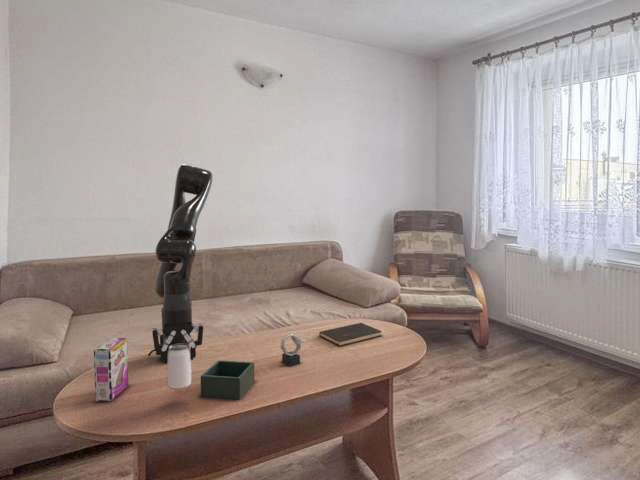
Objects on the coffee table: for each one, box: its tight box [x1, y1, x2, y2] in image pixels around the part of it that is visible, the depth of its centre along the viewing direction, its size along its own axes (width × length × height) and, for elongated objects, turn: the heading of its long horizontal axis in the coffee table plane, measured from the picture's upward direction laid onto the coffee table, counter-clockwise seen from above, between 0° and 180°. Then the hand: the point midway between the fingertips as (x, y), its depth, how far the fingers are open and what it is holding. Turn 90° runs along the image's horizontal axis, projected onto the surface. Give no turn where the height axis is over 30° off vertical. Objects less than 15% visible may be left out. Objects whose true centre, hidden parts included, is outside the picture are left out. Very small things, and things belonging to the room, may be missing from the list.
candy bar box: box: [93, 337, 129, 402], centre depth 136 cm, size 11×5×16 cm, turn 5°
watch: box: [280, 333, 303, 367], centre depth 164 cm, size 6×8×11 cm
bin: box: [200, 359, 255, 400], centre depth 142 cm, size 13×13×7 cm
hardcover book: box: [318, 322, 383, 347], centre depth 196 cm, size 16×23×2 cm
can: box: [166, 343, 192, 390], centre depth 131 cm, size 6×6×12 cm
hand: (179, 360), depth 131 cm, fingers closed on can, 6 cm apart
